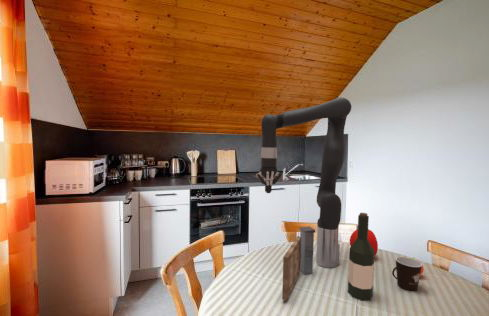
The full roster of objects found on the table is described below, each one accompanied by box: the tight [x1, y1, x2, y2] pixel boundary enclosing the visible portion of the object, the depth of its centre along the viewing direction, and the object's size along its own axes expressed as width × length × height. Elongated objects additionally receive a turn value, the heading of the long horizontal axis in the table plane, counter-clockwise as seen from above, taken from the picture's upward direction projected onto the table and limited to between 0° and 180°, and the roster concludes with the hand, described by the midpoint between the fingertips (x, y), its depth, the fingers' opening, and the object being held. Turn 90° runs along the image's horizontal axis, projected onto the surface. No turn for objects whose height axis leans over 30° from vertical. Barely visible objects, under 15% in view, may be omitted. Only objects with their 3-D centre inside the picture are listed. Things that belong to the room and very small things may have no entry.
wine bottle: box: [347, 212, 376, 302], centre depth 91 cm, size 8×8×30 cm
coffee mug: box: [391, 256, 423, 292], centre depth 97 cm, size 12×9×10 cm
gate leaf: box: [281, 236, 301, 301], centre depth 96 cm, size 22×2×15 cm, turn 156°
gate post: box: [298, 226, 316, 276], centre depth 107 cm, size 5×5×19 cm
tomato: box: [349, 228, 379, 256], centre depth 123 cm, size 13×11×14 cm
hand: (268, 192), depth 121 cm, fingers closed
